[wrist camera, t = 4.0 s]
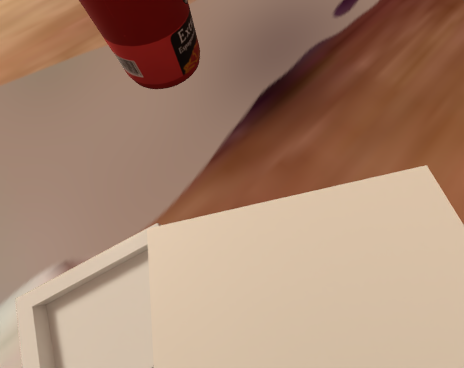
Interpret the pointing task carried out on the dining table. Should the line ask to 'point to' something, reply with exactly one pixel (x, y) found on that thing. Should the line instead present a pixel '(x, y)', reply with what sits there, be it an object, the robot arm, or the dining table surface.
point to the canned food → (149, 38)
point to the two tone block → (314, 281)
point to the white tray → (91, 313)
